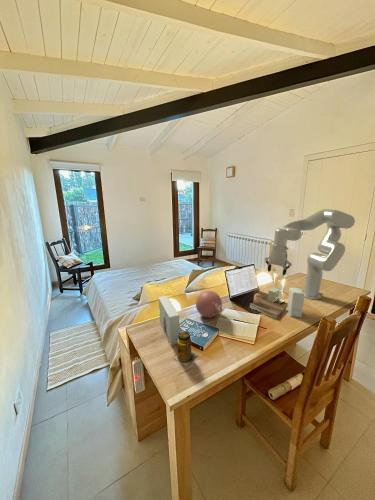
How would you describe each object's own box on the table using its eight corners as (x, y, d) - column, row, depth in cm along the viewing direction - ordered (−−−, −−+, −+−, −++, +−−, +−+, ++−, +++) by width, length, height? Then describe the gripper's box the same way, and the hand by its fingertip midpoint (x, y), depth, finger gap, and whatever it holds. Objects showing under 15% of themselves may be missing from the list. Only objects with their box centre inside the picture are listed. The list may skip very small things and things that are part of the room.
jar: (255, 301, 139) (256, 292, 137) (262, 304, 136) (263, 294, 134) (252, 304, 136) (253, 294, 134) (258, 306, 133) (259, 297, 131)
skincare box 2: (301, 317, 125) (305, 294, 121) (289, 316, 126) (293, 292, 122) (297, 310, 133) (300, 287, 129) (286, 309, 134) (289, 286, 130)
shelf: (260, 300, 145) (260, 296, 144) (285, 309, 133) (286, 305, 133) (249, 308, 135) (249, 303, 134) (275, 319, 123) (276, 314, 122)
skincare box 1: (158, 321, 120) (157, 296, 116) (167, 319, 122) (167, 294, 118) (169, 346, 101) (169, 316, 97) (180, 343, 103) (180, 314, 99)
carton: (271, 297, 149) (272, 287, 147) (278, 300, 146) (279, 289, 144) (267, 300, 144) (268, 290, 142) (274, 303, 141) (275, 292, 139)
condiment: (173, 358, 94) (173, 335, 91) (185, 348, 100) (185, 326, 97) (185, 366, 89) (186, 342, 86) (198, 355, 95) (198, 332, 92)
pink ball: (206, 330, 113) (207, 304, 109) (191, 311, 131) (191, 288, 127) (230, 324, 118) (232, 299, 114) (213, 306, 136) (214, 284, 132)
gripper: (295, 249, 132) (292, 275, 136) (268, 244, 143) (266, 268, 148) (291, 251, 127) (287, 278, 131) (263, 246, 138) (261, 271, 143)
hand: (276, 272), depth 140 cm, fingers open, 9 cm apart
